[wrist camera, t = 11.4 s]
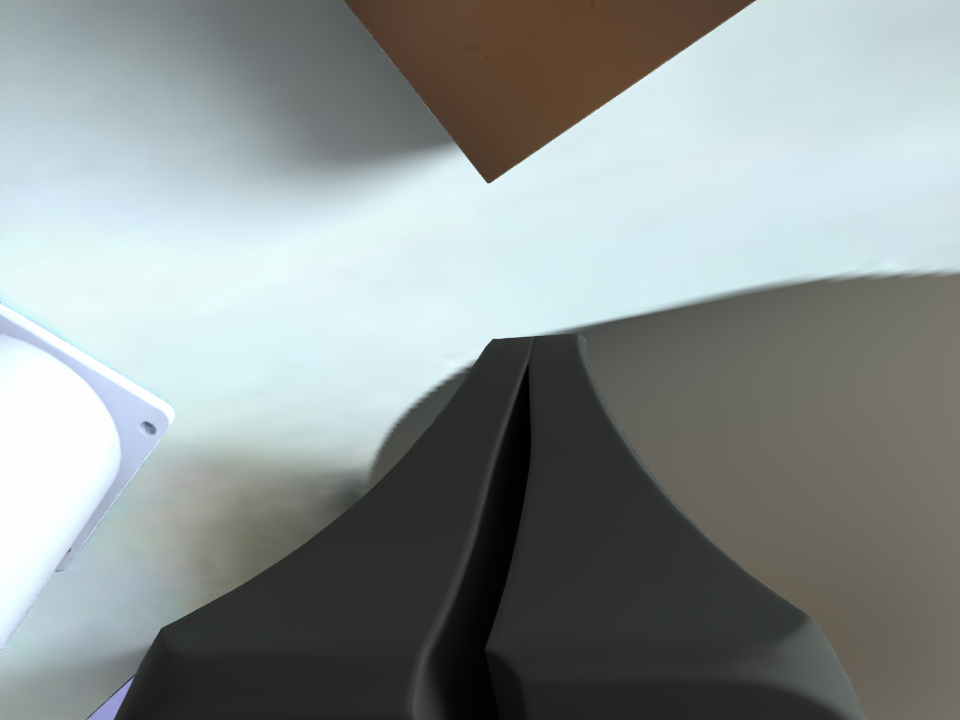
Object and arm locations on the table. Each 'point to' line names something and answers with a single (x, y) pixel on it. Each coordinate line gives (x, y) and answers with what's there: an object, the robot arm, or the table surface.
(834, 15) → the table surface
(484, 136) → the dial panel
